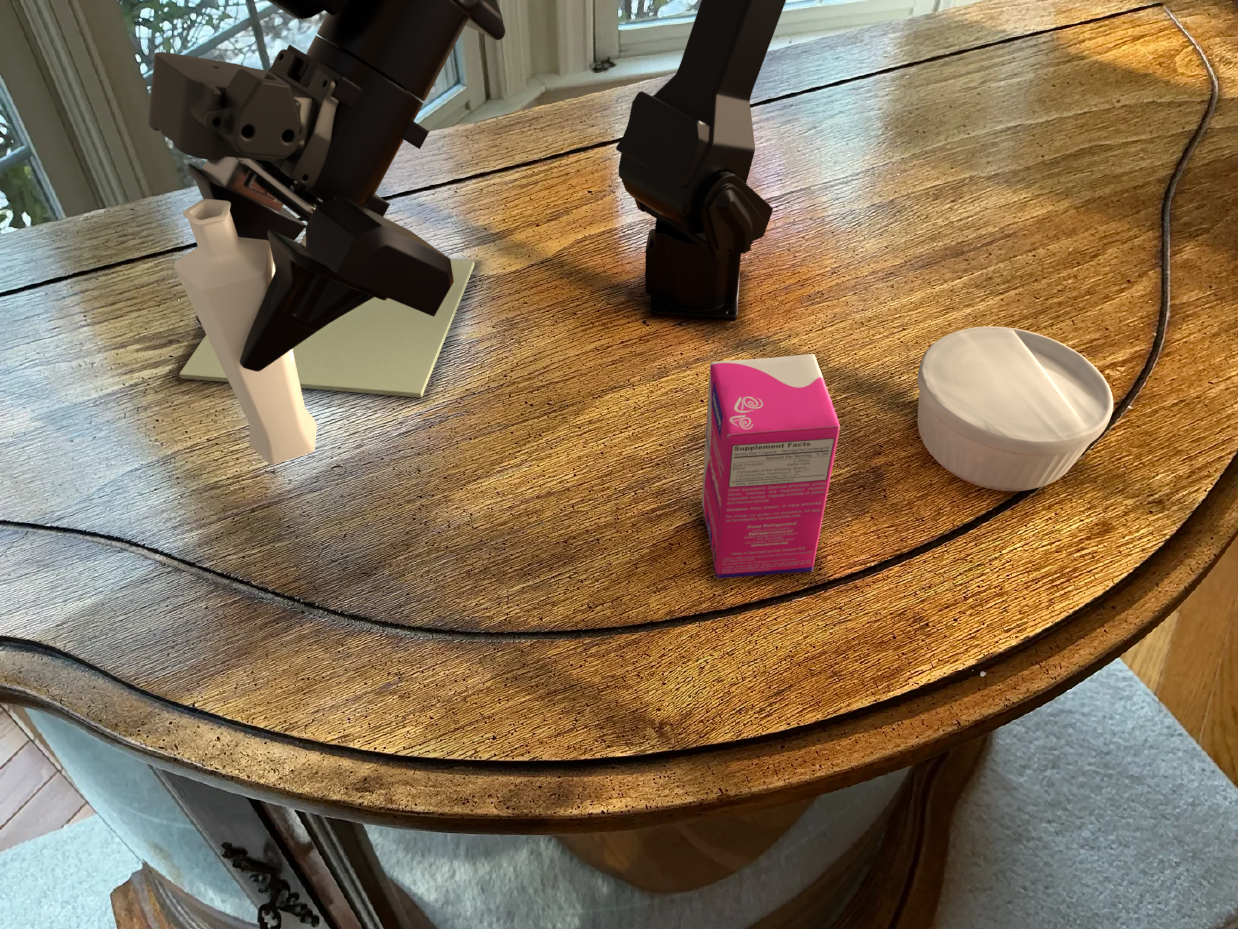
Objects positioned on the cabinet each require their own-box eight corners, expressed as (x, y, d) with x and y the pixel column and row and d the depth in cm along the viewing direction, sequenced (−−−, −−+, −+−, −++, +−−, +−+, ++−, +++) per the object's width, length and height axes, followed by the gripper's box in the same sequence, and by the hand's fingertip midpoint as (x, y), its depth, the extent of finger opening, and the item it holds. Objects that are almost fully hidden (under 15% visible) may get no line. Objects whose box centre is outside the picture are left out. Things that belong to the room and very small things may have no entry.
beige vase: (291, 479, 54) (211, 249, 43) (231, 453, 56) (138, 223, 45) (344, 428, 57) (281, 199, 46) (285, 404, 59) (210, 177, 48)
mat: (474, 265, 77) (474, 261, 77) (421, 397, 66) (420, 393, 66) (266, 251, 79) (265, 247, 79) (180, 378, 68) (178, 374, 67)
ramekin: (1118, 448, 63) (1150, 385, 59) (1021, 536, 57) (1049, 472, 54) (969, 365, 69) (989, 302, 65) (868, 437, 63) (883, 374, 60)
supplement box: (696, 506, 59) (708, 356, 51) (793, 500, 59) (821, 350, 51) (711, 582, 55) (726, 432, 47) (815, 575, 55) (848, 425, 47)
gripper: (135, -77, 46) (-2, 217, 49) (344, 40, 36) (158, 402, 39) (322, 45, 55) (198, 287, 58) (529, 165, 45) (368, 450, 48)
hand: (226, 346), depth 50 cm, fingers closed on beige vase, 4 cm apart
